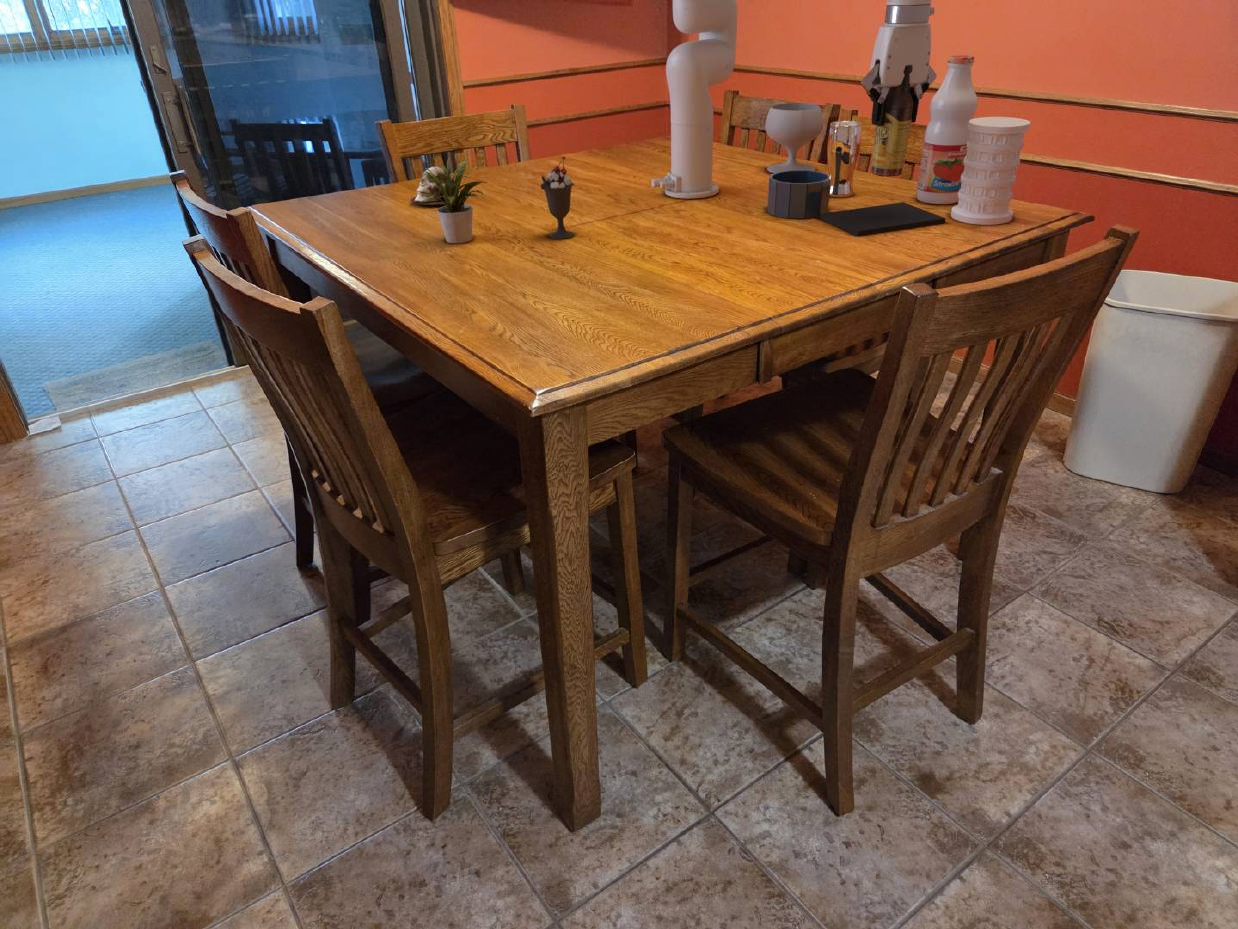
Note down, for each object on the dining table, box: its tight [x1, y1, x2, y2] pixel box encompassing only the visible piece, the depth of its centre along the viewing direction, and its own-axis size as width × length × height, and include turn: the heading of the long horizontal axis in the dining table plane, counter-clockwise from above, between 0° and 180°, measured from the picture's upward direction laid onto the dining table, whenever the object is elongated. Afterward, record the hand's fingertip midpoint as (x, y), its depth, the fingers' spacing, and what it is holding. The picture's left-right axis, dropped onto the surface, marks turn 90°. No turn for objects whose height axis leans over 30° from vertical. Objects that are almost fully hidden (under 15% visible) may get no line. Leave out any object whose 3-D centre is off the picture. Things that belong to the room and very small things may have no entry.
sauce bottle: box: [870, 65, 913, 178], centre depth 155 cm, size 7×6×20 cm
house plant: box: [415, 156, 485, 244], centre depth 161 cm, size 14×14×16 cm
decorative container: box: [950, 116, 1031, 226], centre depth 160 cm, size 12×12×18 cm
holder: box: [766, 170, 831, 220], centre depth 172 cm, size 13×13×7 cm
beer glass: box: [826, 120, 862, 198], centre depth 180 cm, size 7×7×15 cm
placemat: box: [819, 201, 946, 237], centre depth 165 cm, size 20×14×1 cm
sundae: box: [540, 156, 575, 240], centre depth 162 cm, size 7×7×15 cm
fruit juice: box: [915, 54, 979, 205], centre depth 169 cm, size 9×9×28 cm
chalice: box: [764, 102, 824, 174], centre depth 202 cm, size 14×14×15 cm
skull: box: [410, 166, 459, 206], centre depth 193 cm, size 12×10×10 cm
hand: (893, 122), depth 155 cm, fingers closed on sauce bottle, 6 cm apart
